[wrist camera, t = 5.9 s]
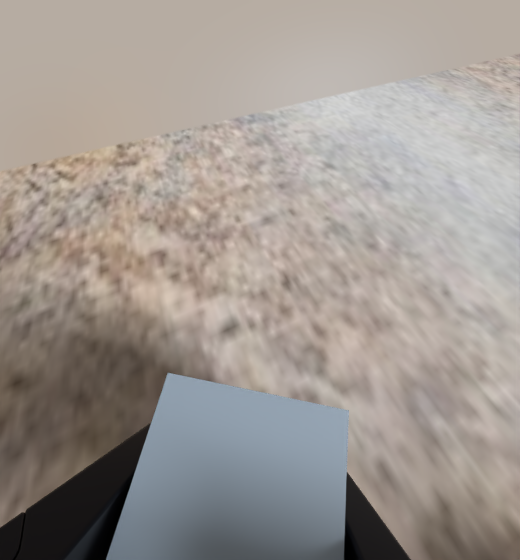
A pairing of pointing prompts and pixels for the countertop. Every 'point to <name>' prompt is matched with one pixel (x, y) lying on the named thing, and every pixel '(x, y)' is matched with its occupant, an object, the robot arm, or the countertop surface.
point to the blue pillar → (236, 478)
